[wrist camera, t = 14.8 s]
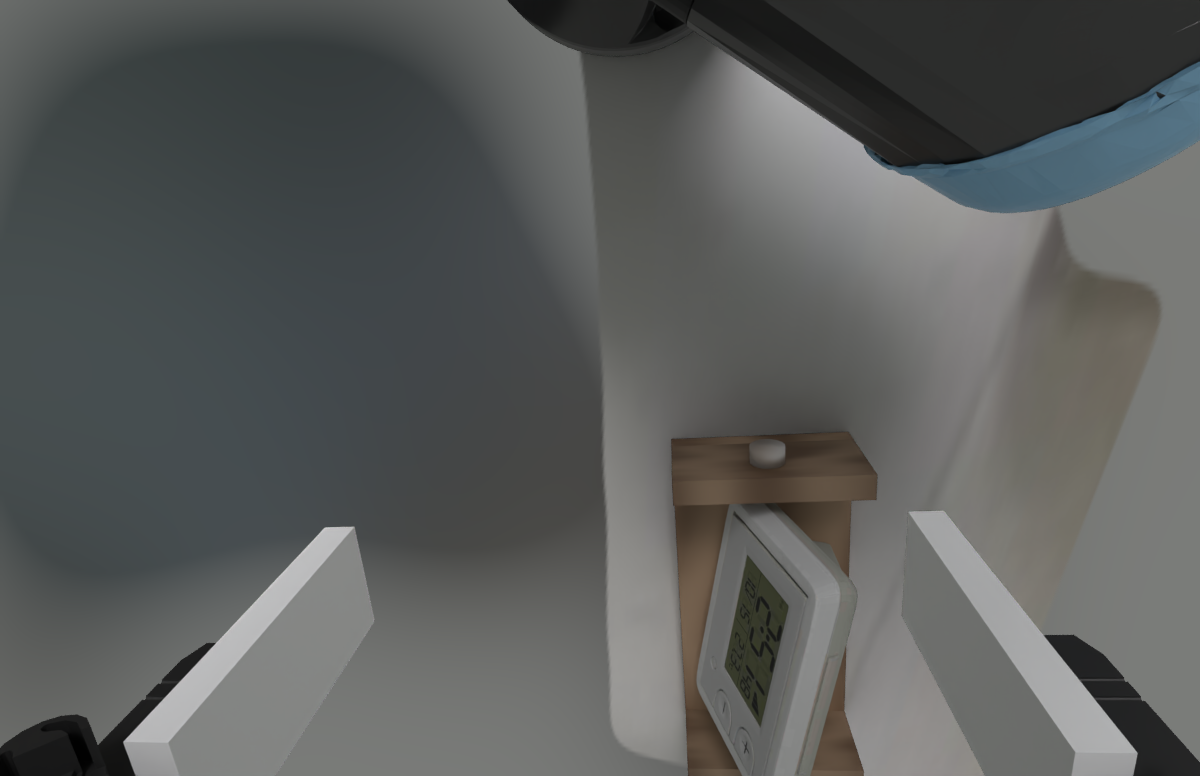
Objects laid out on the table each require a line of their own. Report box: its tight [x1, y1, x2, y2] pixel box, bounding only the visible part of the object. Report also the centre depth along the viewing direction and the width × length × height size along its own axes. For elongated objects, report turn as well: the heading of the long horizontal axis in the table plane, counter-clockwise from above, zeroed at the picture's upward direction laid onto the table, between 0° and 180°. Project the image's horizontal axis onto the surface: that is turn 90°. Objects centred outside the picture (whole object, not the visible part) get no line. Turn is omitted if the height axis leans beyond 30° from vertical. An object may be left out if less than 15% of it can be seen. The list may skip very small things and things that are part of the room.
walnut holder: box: [671, 432, 877, 776], centre depth 43 cm, size 11×24×6 cm, turn 5°
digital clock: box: [696, 503, 857, 776], centre depth 40 cm, size 16×9×11 cm, turn 162°
